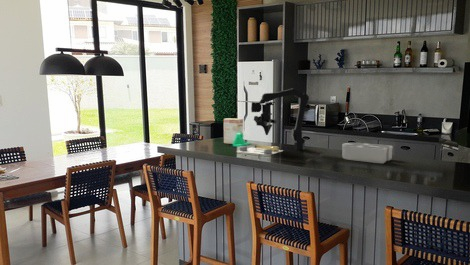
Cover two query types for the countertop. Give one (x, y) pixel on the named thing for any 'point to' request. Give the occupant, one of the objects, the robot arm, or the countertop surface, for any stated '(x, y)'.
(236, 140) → the green tapered piece
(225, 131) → the coffeecake box
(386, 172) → the countertop surface
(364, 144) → the ice cube tray
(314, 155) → the countertop surface
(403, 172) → the countertop surface
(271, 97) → the robot arm
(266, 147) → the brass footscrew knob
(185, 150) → the countertop surface
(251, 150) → the leveling plate
